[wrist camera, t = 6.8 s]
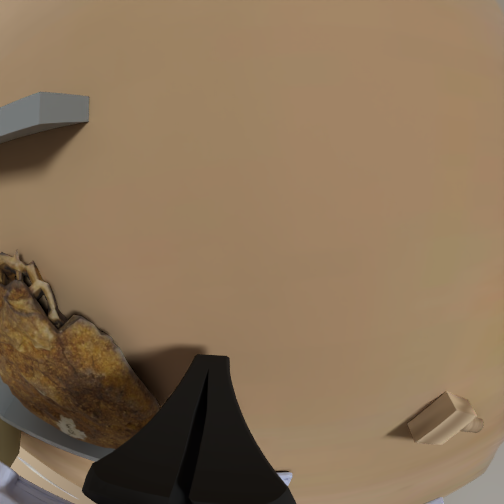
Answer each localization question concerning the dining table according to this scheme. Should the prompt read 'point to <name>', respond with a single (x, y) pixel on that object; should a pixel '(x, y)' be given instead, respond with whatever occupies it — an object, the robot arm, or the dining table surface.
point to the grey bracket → (5, 129)
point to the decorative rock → (66, 365)
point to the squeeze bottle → (9, 443)
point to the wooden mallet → (444, 420)
